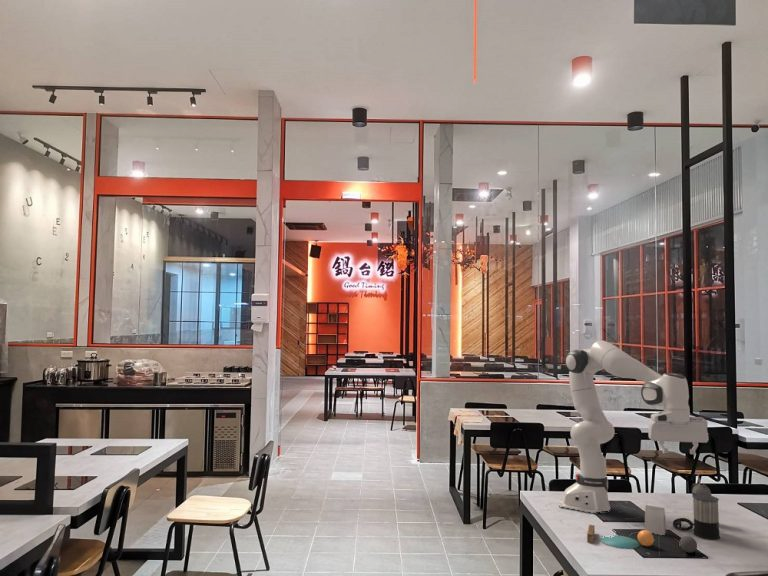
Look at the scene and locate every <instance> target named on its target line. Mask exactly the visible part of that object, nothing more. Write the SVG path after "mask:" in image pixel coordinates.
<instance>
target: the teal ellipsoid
mask: <svg viewBox="0 0 768 576" xmlns="http://www.w3.org/2000/svg"><path fill="white" fill-rule="evenodd" d="M612 535H613V536H614V535H615V536H614V537H612V538H611V536H610V538H609V537H605V536H604V535H601V536H600V537H601V538H600V537H599V539H600V540H599V541H600V542H601V543H602V544H604V545H606V546H609V547H612V548H616V549H625V550H626V549H627V550H631V549H633V550H634V549H637V547H638V548H640V546H641V545H640V544H641V543H640V542H639V541H638V540H636V539H635V538H631V537H628V536H626V535H625V536H624V535H617V534H612ZM603 536H604V538H602V537H603Z"/></svg>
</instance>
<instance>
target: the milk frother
mask: <svg viewBox="0 0 768 576" xmlns="http://www.w3.org/2000/svg"><path fill="white" fill-rule="evenodd" d="M691 496H692V498H693V499H692V500H693V506H692V507H693V508H692V509H693V521H691V520H690V519H689V518H686V517H678V518H676V519H674V520H673V521H672V525H673V528H675V529H677V530H680V531H684V532H687V531H691V530H692V529H693V532H692V533H693V534H692V535H694V536H695V537H697V538H701V539H704V540H709V541H710V540H711V541H717V540H719V539H721V536H720V522H719V500H720V499H719V498H718V497H716V496H713V495H712V496H710V495H703V494H695V495H692V494H691ZM682 522H684V523H687V524H688V525H689V526H686V527H683V524H682Z"/></svg>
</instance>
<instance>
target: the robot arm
mask: <svg viewBox="0 0 768 576" xmlns="http://www.w3.org/2000/svg"><path fill="white" fill-rule="evenodd" d="M564 362H565V366H566V368H567V370H568V371H569V372H568V381H569V389H570V394H571V398H572V403H573V407H574V410H575V411H576V412H578V414H580V415H579V416H580V417H581V418H582V420H581V421H579V422H577V423H575V424H574V425H572V427H571V428H570V433H569V434H570V438H571V440H572V442H573V443H575V445H576V447H577V451H578V454H579V461H580V462H579V464H580V466H579V467H580V470H579V471H580V472H579V473H578V472H577V473H576V474H575V475H574V476H575V482H574V483H573V484H572V485H570V486H568V487H566V488H565V490H564V492H563V496H562V498H560V499H558V502H557V505H558V504H559V506H561V507H565V508H564V509H566V508H569V509H568V510H571V509H575V510H574V511H577V510H580V511H579V512H582V511H585V512H584V513H587V512H592V513H591V514H593V513H595V514H597V513H596V512H600V513H602V512H601V511H608V512H610V511H611V510H610V509H612V508H611V506H610V501H609V495H608V489H609V480H608V477H607V460H606V457H605V456H604V455H603V453H602V450H601V445H602V444H606V443H607V442H609V441H610V440H612V439H613V438H614V437H615V433H616V432H615V427H614V425H613V424H612V423H611V422H610V421H609V420H608V418H607V417H606V415H605V413H604V411H603V409H602V406H601V404H600V401H599V397H598V393H597V388H596V385H595V382H594V376H595V374H597V375H600V374H601V373H603V372H605V371H606V372H607V373H609V375H612V376H614V377H617V378H625V379H626V378H627V379H634V380H639V381H643V382H644V383H643V385H642V386H641V389H640V395H641V399H642V401H644V403H645V404H646V405H649V406H661V407H663V410H662V411H658V412H655V413H652V414H650V419H651V421H649V424H648V439H649V440H650V441H652V442H658V444H659V446H660V447H661V448H662V453H663V454H669V450H668V448H667V447H665V446H664V445H665V442H673V443H674V442H676V443H692V445H693V446H692V448H689V454H690V455H696V451H697V449H698V447H699V443H701V444H703V443H708V442H709V440H710V439H709V433H708V424H709V423H708V420H707V419H706V418H704V417H702V416H691V412H690V411H691V410H690V405H689V399H690V394H689V393H690V392H689V385H688V380H687V378H686V376H684V375H683V374H681V373H675V372H666V373H663V374H662V373H660V372H658V371H656V370H655V369H653V368H652V367H651V366H648V365H646V364H645V363H643V362H641V361H639V360H638V359H636V358H634V357H632V356H631V355H629V354H628V353H626V352H625V351H623V350H622V349H620V348H619V347H618V346H616V345H615V344H613V343H612V342H611V343H610V342H608V341H605V340H602V339H601V340H597V341H595V342H593V343H592V345H591V347H587V348H582V349H574V350H572V351H569V352H568V353H567V354H566V356H565V361H564ZM559 506H558V507H559ZM561 507H560V508H561ZM609 510H610V511H609Z"/></svg>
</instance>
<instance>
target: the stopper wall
mask: <svg viewBox="0 0 768 576" xmlns="http://www.w3.org/2000/svg"><path fill="white" fill-rule="evenodd" d="M595 528H596V527H595V524H588V528H587V533H586V534H587V535H586V537H587V539H586V541H587V543H588V542H589V544H594V539H595V534H594V533H596V531H595Z"/></svg>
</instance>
